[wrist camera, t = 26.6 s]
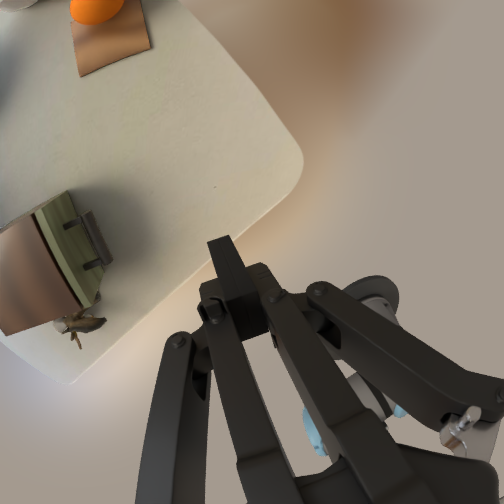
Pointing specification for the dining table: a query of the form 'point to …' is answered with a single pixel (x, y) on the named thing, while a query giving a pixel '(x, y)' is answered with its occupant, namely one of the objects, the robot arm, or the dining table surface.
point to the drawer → (74, 245)
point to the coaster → (110, 38)
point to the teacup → (15, 5)
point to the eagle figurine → (79, 322)
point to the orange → (94, 10)
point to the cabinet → (31, 278)
